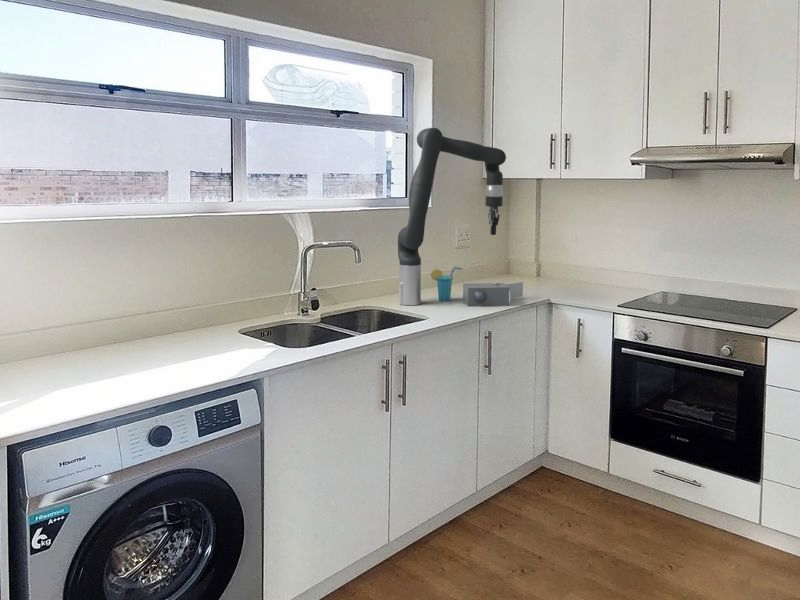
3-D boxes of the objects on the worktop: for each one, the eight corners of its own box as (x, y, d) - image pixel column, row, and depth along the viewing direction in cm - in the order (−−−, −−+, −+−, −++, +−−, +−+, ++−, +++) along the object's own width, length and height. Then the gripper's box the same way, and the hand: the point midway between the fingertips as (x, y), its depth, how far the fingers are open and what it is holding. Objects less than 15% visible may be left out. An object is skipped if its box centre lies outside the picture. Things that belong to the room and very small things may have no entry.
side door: (522, 297, 313) (523, 281, 312) (504, 300, 306) (504, 284, 304) (520, 296, 314) (520, 281, 313) (501, 299, 307) (502, 283, 306)
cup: (458, 298, 313) (458, 265, 310) (464, 301, 305) (464, 267, 302) (428, 299, 309) (429, 266, 306) (433, 302, 302) (434, 268, 299)
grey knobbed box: (468, 307, 291) (469, 286, 290) (462, 301, 305) (463, 281, 303) (510, 306, 293) (511, 286, 291) (503, 300, 306) (503, 281, 305)
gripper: (482, 195, 309) (481, 233, 312) (489, 195, 296) (488, 236, 299) (499, 195, 309) (498, 233, 312) (506, 195, 296) (504, 236, 299)
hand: (493, 234), depth 306 cm, fingers closed
